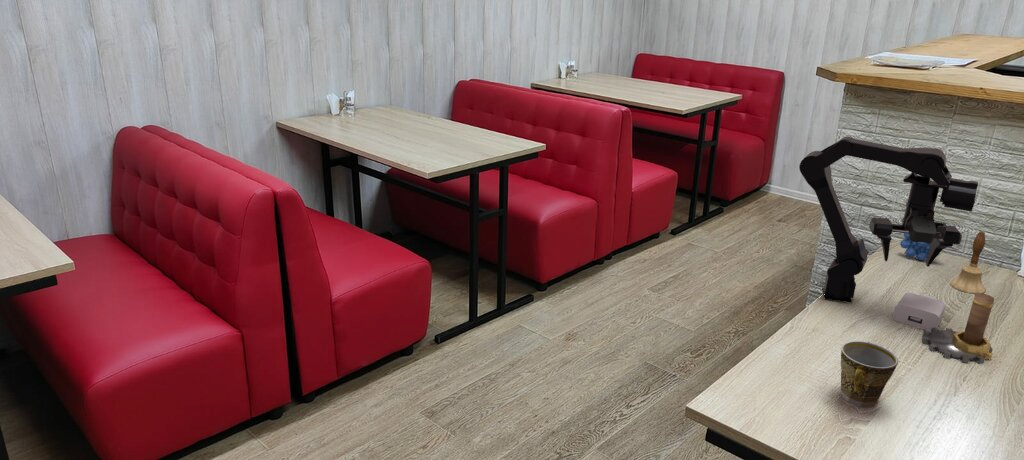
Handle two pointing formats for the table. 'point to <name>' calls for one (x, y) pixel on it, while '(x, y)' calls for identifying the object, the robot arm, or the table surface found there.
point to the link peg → (978, 318)
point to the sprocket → (956, 345)
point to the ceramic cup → (865, 372)
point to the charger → (919, 311)
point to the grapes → (915, 248)
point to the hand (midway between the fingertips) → (906, 263)
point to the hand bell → (972, 270)
